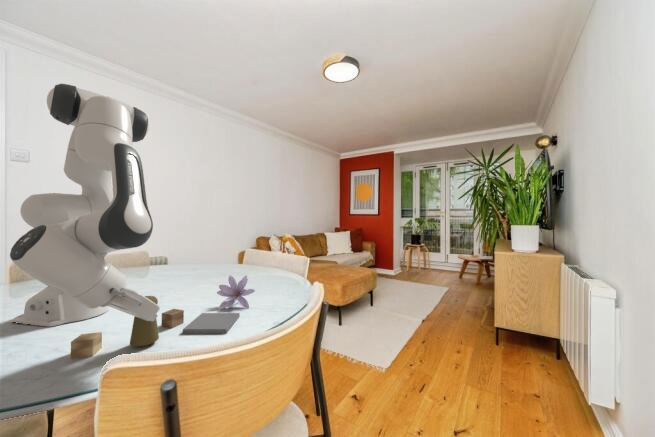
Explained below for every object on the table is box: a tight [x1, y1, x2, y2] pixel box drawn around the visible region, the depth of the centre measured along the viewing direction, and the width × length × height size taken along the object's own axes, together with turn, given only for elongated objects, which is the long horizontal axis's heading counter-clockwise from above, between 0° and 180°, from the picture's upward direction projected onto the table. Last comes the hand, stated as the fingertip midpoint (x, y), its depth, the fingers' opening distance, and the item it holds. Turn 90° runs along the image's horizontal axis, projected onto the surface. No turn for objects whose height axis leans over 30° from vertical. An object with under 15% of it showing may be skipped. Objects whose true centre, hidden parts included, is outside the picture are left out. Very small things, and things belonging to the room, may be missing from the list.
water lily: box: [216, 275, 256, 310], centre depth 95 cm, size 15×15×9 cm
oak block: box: [70, 331, 103, 360], centre depth 61 cm, size 4×4×4 cm
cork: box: [129, 295, 160, 347], centre depth 65 cm, size 6×6×11 cm
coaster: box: [182, 312, 240, 335], centre depth 77 cm, size 12×12×1 cm
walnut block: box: [161, 308, 185, 329], centre depth 77 cm, size 4×4×4 cm
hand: (147, 316), depth 66 cm, fingers closed on cork, 4 cm apart
